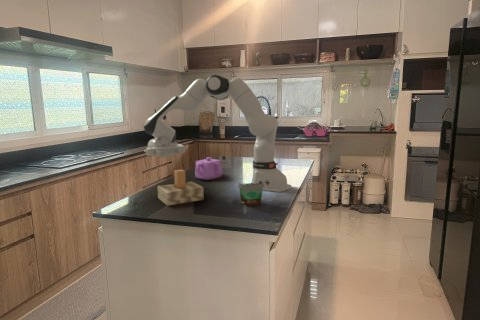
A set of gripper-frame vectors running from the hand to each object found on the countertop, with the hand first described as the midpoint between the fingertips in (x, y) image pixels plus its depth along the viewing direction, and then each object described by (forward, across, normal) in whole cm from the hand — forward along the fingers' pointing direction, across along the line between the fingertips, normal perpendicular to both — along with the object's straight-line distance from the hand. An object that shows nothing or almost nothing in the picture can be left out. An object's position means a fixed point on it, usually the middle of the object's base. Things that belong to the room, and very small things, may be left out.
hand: (170, 152), depth 169 cm
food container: (+38, +25, +21) cm, 51 cm away
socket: (+12, 0, +21) cm, 24 cm away
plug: (+12, 0, +21) cm, 24 cm away
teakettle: (-24, +32, +21) cm, 45 cm away
